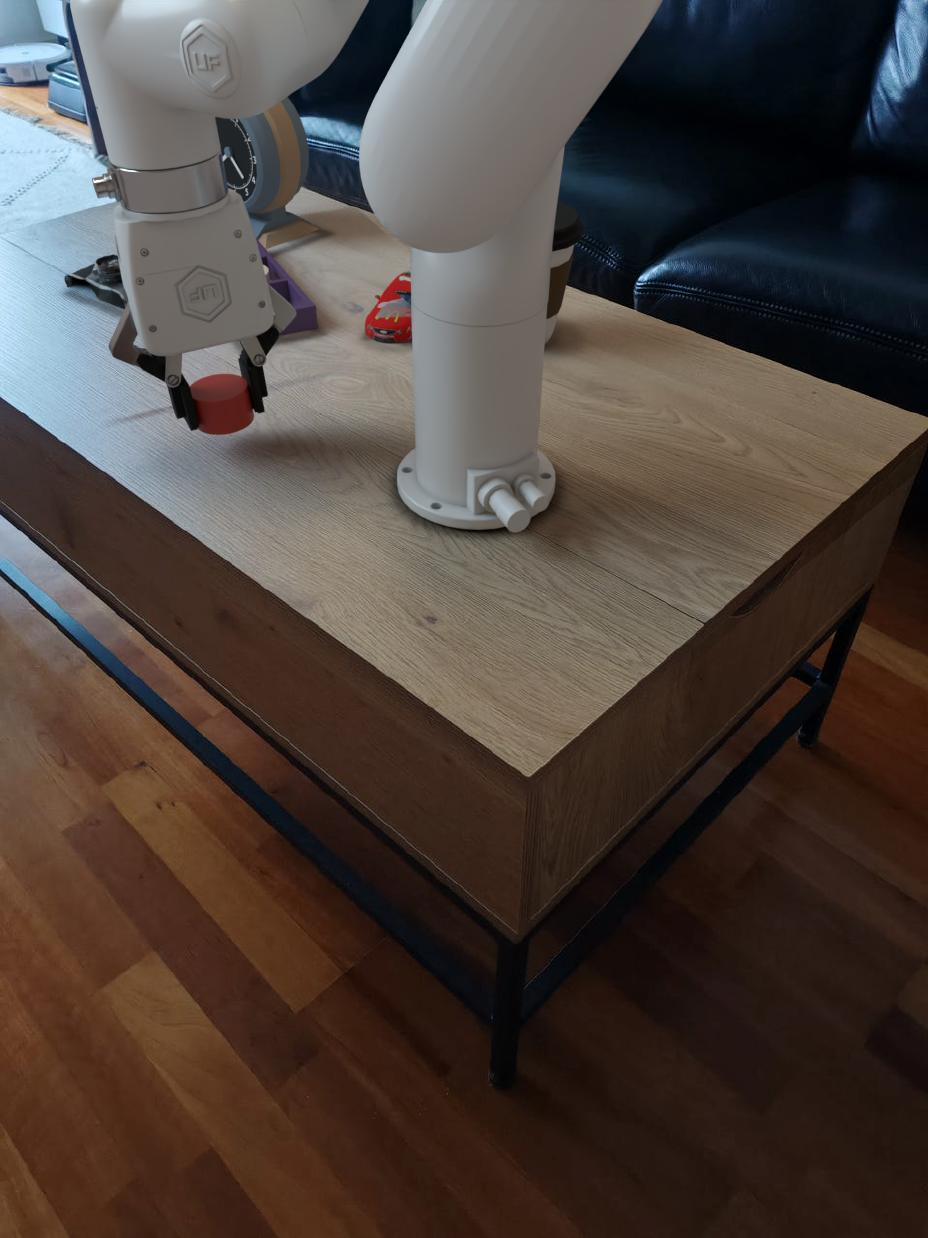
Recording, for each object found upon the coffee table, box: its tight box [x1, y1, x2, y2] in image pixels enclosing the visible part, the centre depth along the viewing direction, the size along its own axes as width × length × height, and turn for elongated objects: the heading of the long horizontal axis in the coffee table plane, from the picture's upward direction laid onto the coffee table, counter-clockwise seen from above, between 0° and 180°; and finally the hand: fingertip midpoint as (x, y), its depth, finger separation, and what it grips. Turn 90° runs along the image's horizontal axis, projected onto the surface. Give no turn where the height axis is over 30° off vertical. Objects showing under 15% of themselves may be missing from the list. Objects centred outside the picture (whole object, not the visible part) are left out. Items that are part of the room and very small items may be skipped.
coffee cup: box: [545, 200, 585, 344], centre depth 94 cm, size 11×11×12 cm
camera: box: [63, 253, 127, 310], centre depth 103 cm, size 5×10×4 cm, turn 53°
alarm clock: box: [215, 96, 320, 250], centre depth 112 cm, size 14×10×18 cm
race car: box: [364, 270, 412, 344], centre depth 99 cm, size 13×5×4 cm, turn 161°
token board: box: [256, 239, 319, 337], centre depth 103 cm, size 22×8×3 cm, turn 26°
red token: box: [189, 373, 255, 436], centre depth 79 cm, size 5×5×3 cm
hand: (223, 412), depth 80 cm, fingers closed on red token, 4 cm apart
